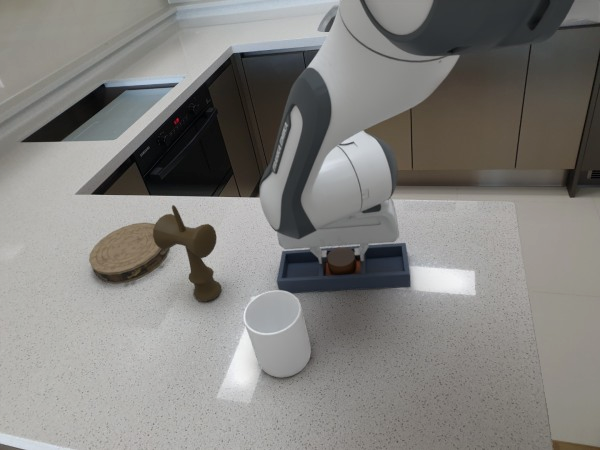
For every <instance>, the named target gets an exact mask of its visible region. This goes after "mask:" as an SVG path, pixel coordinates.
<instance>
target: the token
mask: <svg viewBox="0 0 600 450" xmlns="http://www.w3.org/2000/svg"><path fill="white" fill-rule="evenodd" d="M339 247H340V248H336V247H335V248H336V249H334V250H332V251H330V252H329V254H328V256H327V261H328V268H329V271H330V273H331V274H333V275H348V274H352V273H353V272H354V271H355V270H356V267H357V265H356V261H355V253H354V251H353V250H351V249H349V248H345V247H346V246H339Z"/></svg>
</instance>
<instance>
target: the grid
mask: <svg viewBox="0 0 600 450" xmlns="http://www.w3.org/2000/svg"><path fill="white" fill-rule="evenodd" d="M340 247H341V246H335V247H320V248H321V250H327V255H328V254H329V252H330V251H332V250H334V249H336V248H340ZM344 247H345V248H349V249H351V250H353V251H354V253H355V248H359V247H360V245H350V246H344ZM363 255H364V261H356V265H357V267H356V270H355V271H354V272H353V273H352V274H348V275H333V274H331V273H330V271H329V268H328V263H325V264H319V260H318V257H316V256H315V255H314V254H313V253H312V252H311V251H310V248H305V249H291V250H282V251H281V256H280V262H279V266H278V273H277V278H276V284H277V288H278V290H282V291H287V292H290V293H292V294H297V293H299V294H300V293H313V292H314V293H315V292H335V291H336V292H337V291H354V290H371V289H374V290H375V289H393V288H410V287H411V271H410V264H409V257H408V250H407V244H406V242H398V243H395V242H394V243H384V244H383V243H379V244H369V247H368V249H367V250H366V252H365V253H364V254H363Z"/></svg>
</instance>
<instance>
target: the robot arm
mask: <svg viewBox="0 0 600 450" xmlns="http://www.w3.org/2000/svg"><path fill="white" fill-rule="evenodd" d="M579 21H589V22H594V23H600V0H339V2H338V7H337V10H336V15H335V17H334V20H333V23H332V25H331V27H330V29H329V31H328V33H327V36H326V37H325V39H324V41H323V43H322V45H321V47H320V48H319V49H318V51H317V53H316V54H315V55H314V57H313V59H312V60H311V62H310V63H309V64H308V65H307V67H306V68H305V69H303V71H302V72H301V73H300V75H299V76H298V77H297V79H296V80H295V81H294V82H293V84H292V86H291V88H290V91H289V94H288V96H287V100H286V103H285V106H284V110H283V114H282V118H281V121H280V125H279V127H278V132H277V136H276V139H275V142H274V143H275V144H274V147H273V150H272V155H271V159H270V162H269V164H268V165H267V166H266V168H265V169H264V172H263V174H262V176H261V179H260V182H259V186H258V188H259V189H258V192H259V202H260V205H261V210H262V212H263V214H264V217H265V219H266V220H267V222H268V224H269V226H270V227H271V228H272V229H273V231H275V232H276V234H277V241H278V245H279V247H281V248H282V249H284V250H298V249H310V251H311V252H312V253H313V254H314V255H315V256H316V257H318V260H319V264H325V263H328V261H327V256H328V255H327V250H321V248H327V247H342V246H357V245H359V246H360V247H359V248H355V261H364V255H363V254H364V253H365V252H366V250H367V249H368V247H369V245H371V244H383V243H384V244H386V243H395V242H397V240H398V239H399V238H400V228H399V221H398V216H397V210H396V206H395V204H394V203H395V202H394V200H393V198H392V196H393V195H394V193H395V191H396V188H397V183H398V176H399V168H398V163H397V158H396V157H397V156H396V155H395V151H394V150H393V147H392V146H391V145H390V144H389V143H387V142H386V141H385V140H383V139H381V138H380V137H377V136H375V135H373V134H371V133H369V132H367V131H365V130H367V129H369V128H371V127H374V126H376V125H378V124H380V123H382V122H384V121H387V120H389V119H391V118H393V117H395V116H398V115H400V114H402V113H404V112H406V111H409V110H410V109H413V108H414V107H416V106H418V105H419V104H421V103H422V102H424V101H425V100H426V99H428V98H429V97H430V96H431V95H432V94H433V93H434V92H435V91H436V90H437V89H438V87H439V86H441V84H442V83H443V81H444V80H445V79H446V78H447V77H448V75H449V74H450V73H451V71H452V70H453V68H454V67H455V66H456V63H457V62H458V60H459V58H460V57H461V56H463V55H465V56H466V55H472V54H479V53H480V54H481V53H486V52H491V51H495V50H500V49H507V48H513V47H521V46H528V45H536V44H541V43H545V42H547V41H548V40H549V39H551V38H552V37H553V36H554V35H555V34H556V33H557V31H558V30H559V28H560V27H561V25H565V24H570V23H575V22H579Z"/></svg>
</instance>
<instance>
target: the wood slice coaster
mask: <svg viewBox="0 0 600 450" xmlns="http://www.w3.org/2000/svg"><path fill="white" fill-rule="evenodd" d="M155 224H156V223H152V222H138V223H137V222H136V223H132V224H128V225H125V226H122V227H119V228H117V229H115V230H113V231H112V232H109V233H108V234H107V235H105V236H104V237H102V238H101V239H100V240H99V241H98V242H97V243H96V244H95V245H94V246H93V247H92V250H91V251H90V253H89V259H88V262H89V263H90V267H91V268H92V270H93V272H94V273H95V275H96V277H97V278H98V279H99V280H101V281H102V282H104V283H109V284H125V283H129V282H132V281H135V280H138V279H140V278H142V277H144V276H146V275H148V274H150V273H151V272H153V271H154V270H155V269H157V268H158V267H160V265H162V263H163V262H164V261H165V259H166V258H167V257H168V254H169V252H170V248H168V249H161V248H159V247H158V246H157V245H156V243H155V242H154V238H153V228H154V226H155Z"/></svg>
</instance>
